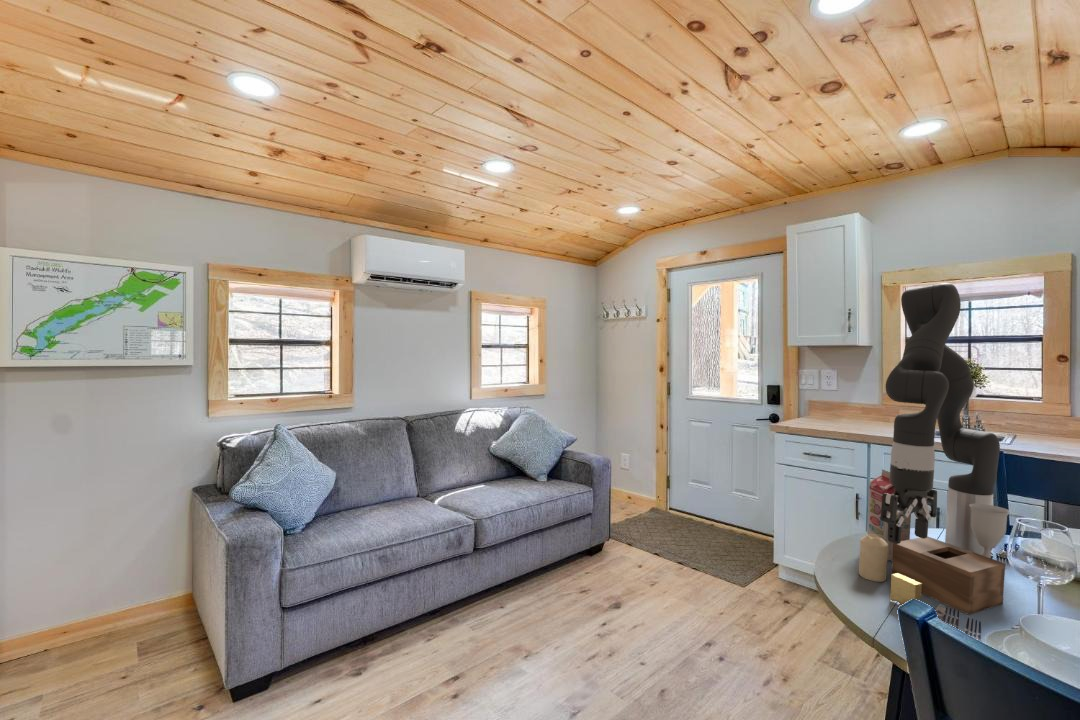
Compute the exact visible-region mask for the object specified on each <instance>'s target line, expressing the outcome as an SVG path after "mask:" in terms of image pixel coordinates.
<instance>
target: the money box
mask: <svg viewBox="0 0 1080 720" xmlns="http://www.w3.org/2000/svg"><path fill="white" fill-rule="evenodd" d="M1005 571H1006V563H1005V562H1002V561H1000V560H996V559H994V558H992V557H991V558H988V557H985V556H982V555H979V554H977V553H974V552H971V551H968V550H965V549H962V548H959V547H956V546H954V545H951V544H948V543H945V541H941V540H940V539H936V538H933V537H930V536H928V535H927V538H924V539H923V538H920V537H915V538H910V540H905V541H901V542H900V543H899V544H895V543H893V558H892V562H891V575H892V574H896V573H899V574H901V575H903V576H906V577H908V578H910V579H913V580H915V581H917V582H920V583H922V590H921V595H923V596H925V597H928V598H930V599H933V600H934V601H937V602H939V603H942V604H944V605H945V606H948V607H951V608H953V609H955V610H958V611H960V612H962V613H963V614H966V615H971V614H975V613H978V612H981V611H985V610H987V609H991V608H994V607H998V606H1001V605H1003V604H1004V590H1005V577H1006V576H1005V574H1006V572H1005Z"/></svg>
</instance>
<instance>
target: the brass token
mask: <svg viewBox="0 0 1080 720" xmlns="http://www.w3.org/2000/svg"><path fill="white" fill-rule="evenodd" d="M890 577H891V578H890V580H891V582H890V597H889V598H890V599H889V601H890V600H892V601H898V602H899V603H900V604H899V605H902V604H904V603H905V602H907V601H909V600H911V599H917V600H920V601H921V602H922V594H921V590H922V583H920V582H917V581H915V580H913V579H910V578H908V577H906V576H903V575H901V574H899V573H896V574H892V573H891V575H890ZM899 605H898V606H899Z"/></svg>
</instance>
